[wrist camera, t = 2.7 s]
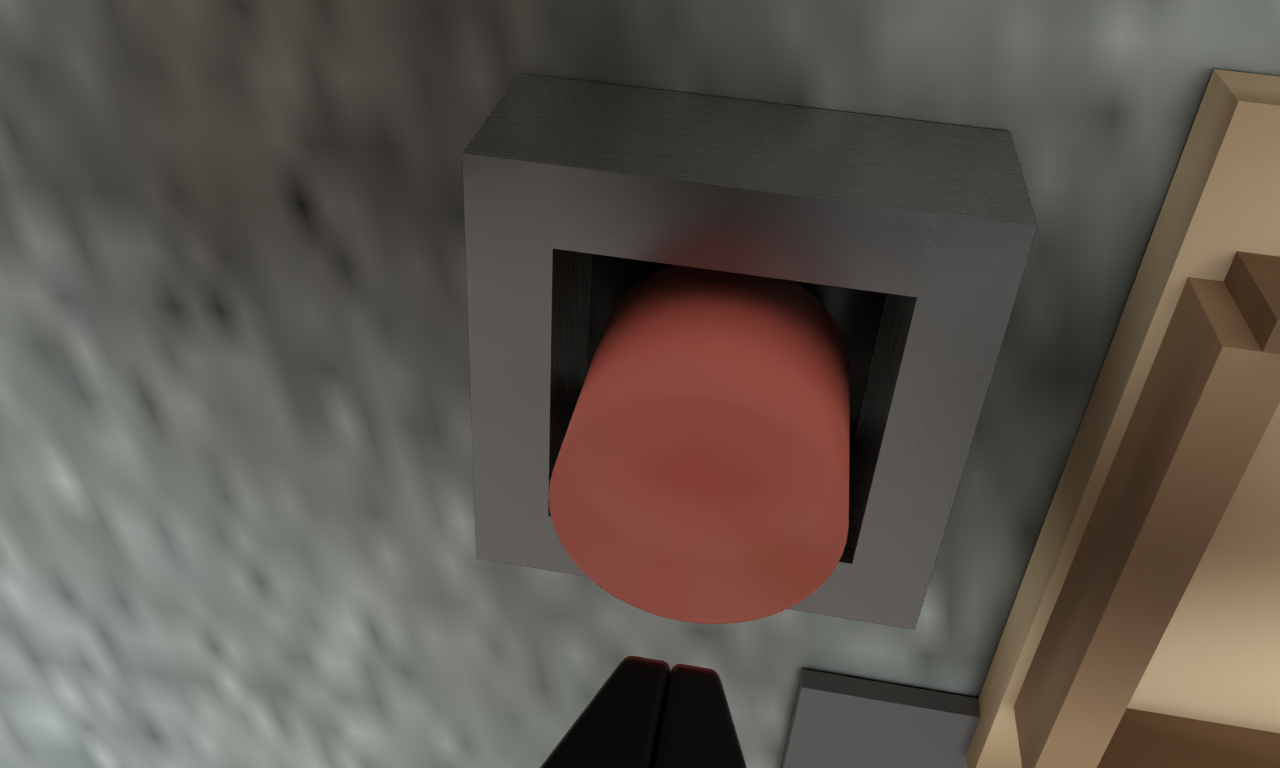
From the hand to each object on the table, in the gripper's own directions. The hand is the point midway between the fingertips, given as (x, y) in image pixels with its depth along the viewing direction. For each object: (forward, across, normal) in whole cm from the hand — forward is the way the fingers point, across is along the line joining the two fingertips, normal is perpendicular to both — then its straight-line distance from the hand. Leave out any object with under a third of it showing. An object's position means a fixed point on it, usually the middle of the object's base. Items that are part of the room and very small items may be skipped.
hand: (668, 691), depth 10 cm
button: (+5, 0, 0) cm, 5 cm away
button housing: (+7, 0, 0) cm, 7 cm away
